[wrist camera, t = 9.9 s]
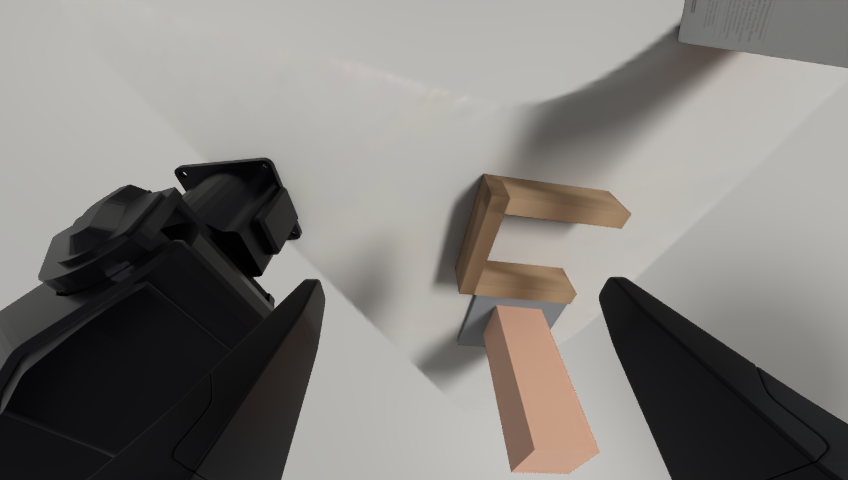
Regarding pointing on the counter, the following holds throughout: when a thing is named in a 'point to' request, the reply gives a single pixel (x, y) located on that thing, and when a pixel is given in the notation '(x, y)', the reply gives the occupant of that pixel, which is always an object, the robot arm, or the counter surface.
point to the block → (535, 395)
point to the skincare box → (771, 28)
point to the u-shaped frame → (529, 202)
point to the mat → (484, 309)
